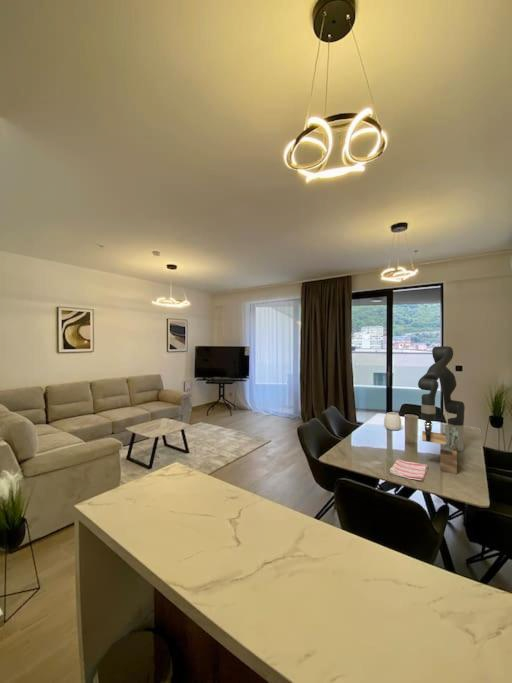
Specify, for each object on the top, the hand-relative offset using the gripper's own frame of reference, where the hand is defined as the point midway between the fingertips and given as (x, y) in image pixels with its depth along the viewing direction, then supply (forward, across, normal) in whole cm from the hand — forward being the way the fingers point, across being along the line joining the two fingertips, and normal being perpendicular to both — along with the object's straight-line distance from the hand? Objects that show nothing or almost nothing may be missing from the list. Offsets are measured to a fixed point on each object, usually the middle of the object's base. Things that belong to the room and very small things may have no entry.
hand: (428, 440), depth 179 cm
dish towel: (+16, +15, -9) cm, 24 cm away
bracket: (+15, -17, +11) cm, 25 cm away
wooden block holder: (+15, 0, +10) cm, 18 cm away
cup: (+15, -67, -30) cm, 75 cm away
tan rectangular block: (0, 0, +3) cm, 3 cm away
